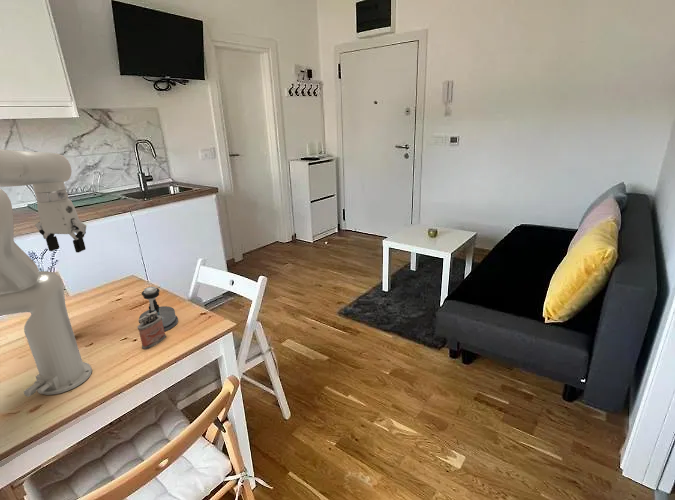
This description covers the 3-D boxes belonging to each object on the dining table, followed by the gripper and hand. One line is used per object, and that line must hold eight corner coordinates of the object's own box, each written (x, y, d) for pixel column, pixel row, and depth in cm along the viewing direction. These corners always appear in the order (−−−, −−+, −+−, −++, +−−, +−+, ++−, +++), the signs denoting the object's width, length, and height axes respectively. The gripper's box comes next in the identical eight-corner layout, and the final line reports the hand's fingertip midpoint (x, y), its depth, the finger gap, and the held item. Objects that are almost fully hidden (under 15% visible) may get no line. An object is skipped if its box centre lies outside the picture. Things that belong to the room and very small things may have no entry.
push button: (150, 310, 132) (144, 284, 128) (166, 309, 133) (161, 282, 129) (145, 320, 126) (138, 293, 122) (162, 318, 126) (156, 291, 123)
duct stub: (164, 335, 124) (162, 324, 123) (131, 332, 126) (129, 322, 125) (185, 316, 135) (183, 306, 134) (154, 314, 137) (152, 304, 136)
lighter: (161, 334, 125) (155, 307, 121) (168, 336, 123) (162, 309, 120) (139, 347, 118) (132, 319, 115) (147, 350, 117) (140, 321, 113)
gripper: (87, 194, 116) (100, 247, 121) (39, 193, 119) (54, 245, 125) (66, 199, 109) (81, 255, 115) (16, 198, 112) (33, 253, 118)
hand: (67, 250), depth 120 cm, fingers open, 9 cm apart
